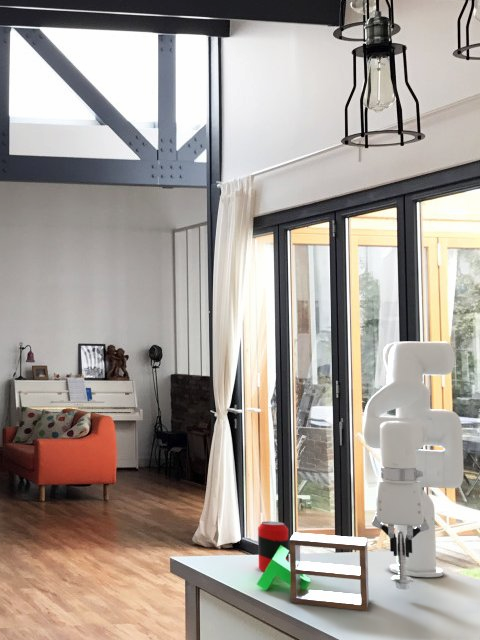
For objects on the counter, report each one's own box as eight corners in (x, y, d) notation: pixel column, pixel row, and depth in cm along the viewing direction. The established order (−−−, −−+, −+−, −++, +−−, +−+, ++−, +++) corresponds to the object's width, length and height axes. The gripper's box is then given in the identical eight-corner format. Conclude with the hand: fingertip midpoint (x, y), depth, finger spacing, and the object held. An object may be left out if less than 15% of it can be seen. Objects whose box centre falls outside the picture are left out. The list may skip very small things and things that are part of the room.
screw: (405, 585, 237) (418, 590, 232) (386, 586, 236) (399, 591, 231) (403, 528, 238) (416, 532, 233) (384, 529, 237) (397, 533, 232)
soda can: (264, 566, 269) (263, 519, 270) (293, 569, 264) (292, 522, 266) (254, 570, 263) (253, 523, 264) (283, 574, 258) (282, 526, 259)
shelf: (295, 593, 237) (294, 532, 239) (368, 601, 231) (367, 538, 232) (290, 602, 228) (289, 539, 230) (366, 610, 222) (365, 545, 223)
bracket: (293, 610, 237) (309, 584, 236) (256, 584, 241) (272, 559, 240) (301, 591, 256) (316, 567, 255) (266, 568, 259) (280, 544, 259)
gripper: (435, 474, 236) (438, 555, 235) (362, 471, 243) (365, 549, 241) (436, 479, 229) (439, 562, 228) (361, 475, 236) (363, 555, 234)
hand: (401, 554), depth 234 cm, fingers closed on screw, 2 cm apart
